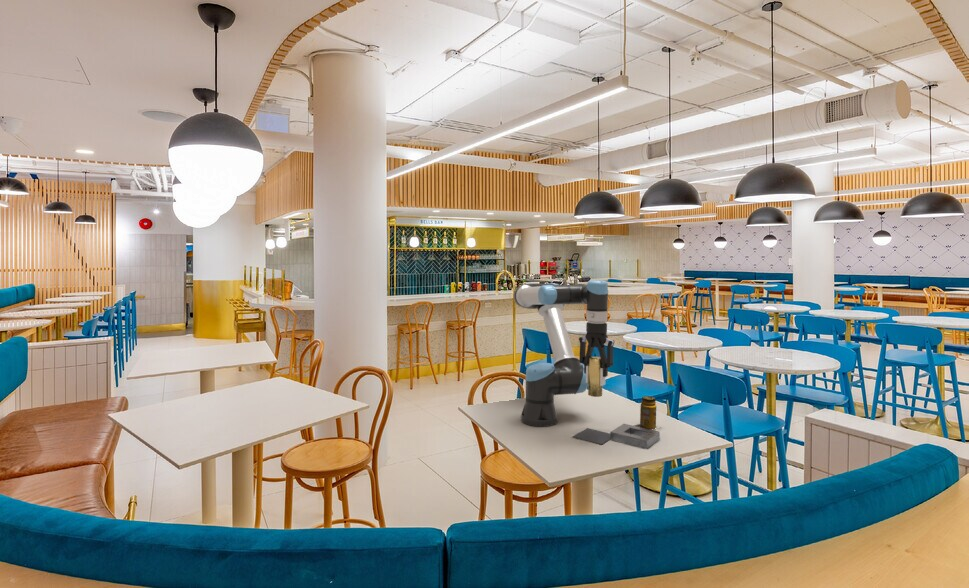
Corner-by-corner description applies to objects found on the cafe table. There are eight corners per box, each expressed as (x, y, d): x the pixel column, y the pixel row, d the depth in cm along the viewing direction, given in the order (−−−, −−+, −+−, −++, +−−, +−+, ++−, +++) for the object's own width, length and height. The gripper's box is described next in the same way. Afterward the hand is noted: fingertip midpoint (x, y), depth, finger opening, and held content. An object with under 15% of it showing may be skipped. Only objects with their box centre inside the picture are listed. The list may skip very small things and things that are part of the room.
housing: (610, 439, 185) (610, 431, 184) (623, 431, 194) (623, 423, 194) (647, 449, 176) (647, 440, 175) (659, 439, 185) (659, 431, 185)
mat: (572, 437, 187) (572, 436, 187) (587, 428, 196) (587, 427, 196) (601, 445, 179) (601, 444, 179) (616, 435, 188) (616, 434, 188)
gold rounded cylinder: (585, 395, 186) (586, 358, 185) (592, 392, 190) (592, 356, 189) (598, 397, 183) (599, 360, 182) (604, 394, 187) (605, 357, 186)
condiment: (660, 428, 198) (661, 398, 197) (646, 432, 193) (647, 401, 192) (645, 422, 204) (646, 394, 203) (631, 426, 199) (632, 397, 198)
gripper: (570, 321, 187) (569, 381, 189) (615, 325, 176) (613, 389, 177) (579, 319, 193) (578, 378, 195) (624, 323, 181) (622, 385, 183)
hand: (595, 383), depth 186 cm, fingers closed on gold rounded cylinder, 5 cm apart
